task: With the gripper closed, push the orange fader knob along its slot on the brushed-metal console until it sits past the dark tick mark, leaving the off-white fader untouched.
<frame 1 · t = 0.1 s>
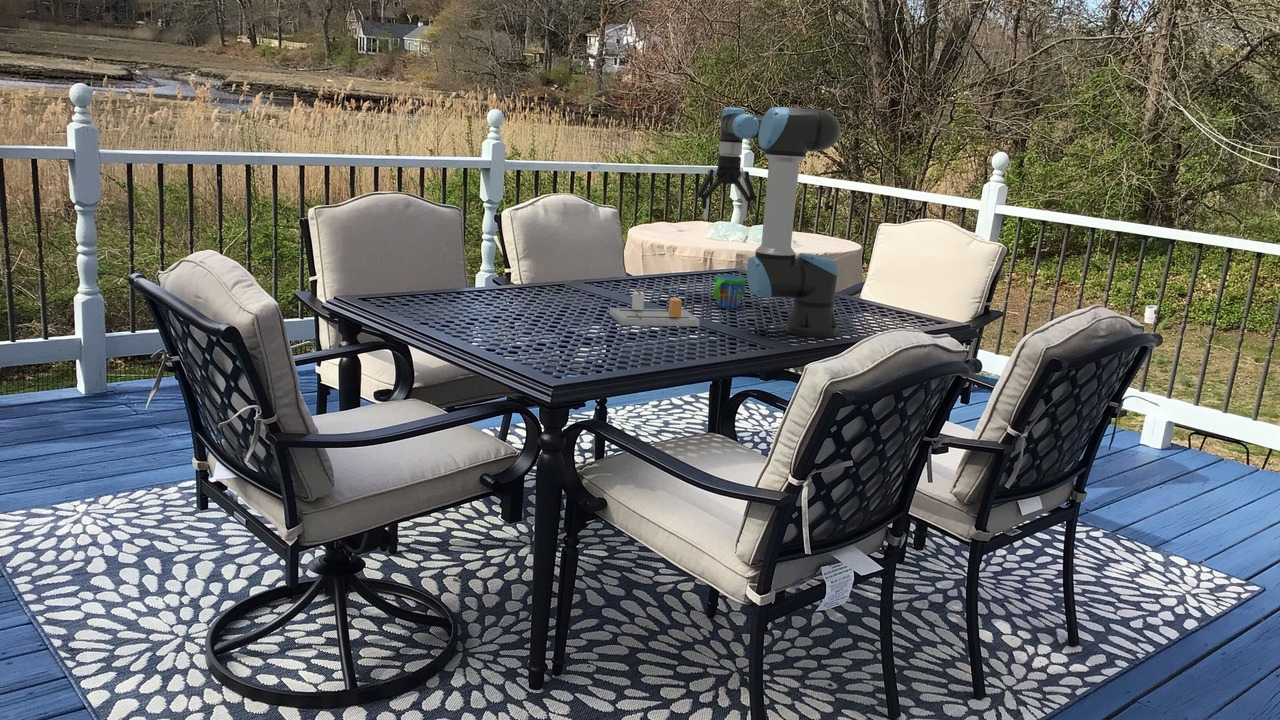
hand: (724, 219, 331), 28 cm above the table, fingers open, 13 cm apart
fader b: (638, 300, 300), point 5 cm above the table, slide at 4.0 cm
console: (653, 320, 298), on the table
snack cup: (727, 307, 328), on the table
fader a: (675, 307, 293), point 5 cm above the table, slide at -5.0 cm
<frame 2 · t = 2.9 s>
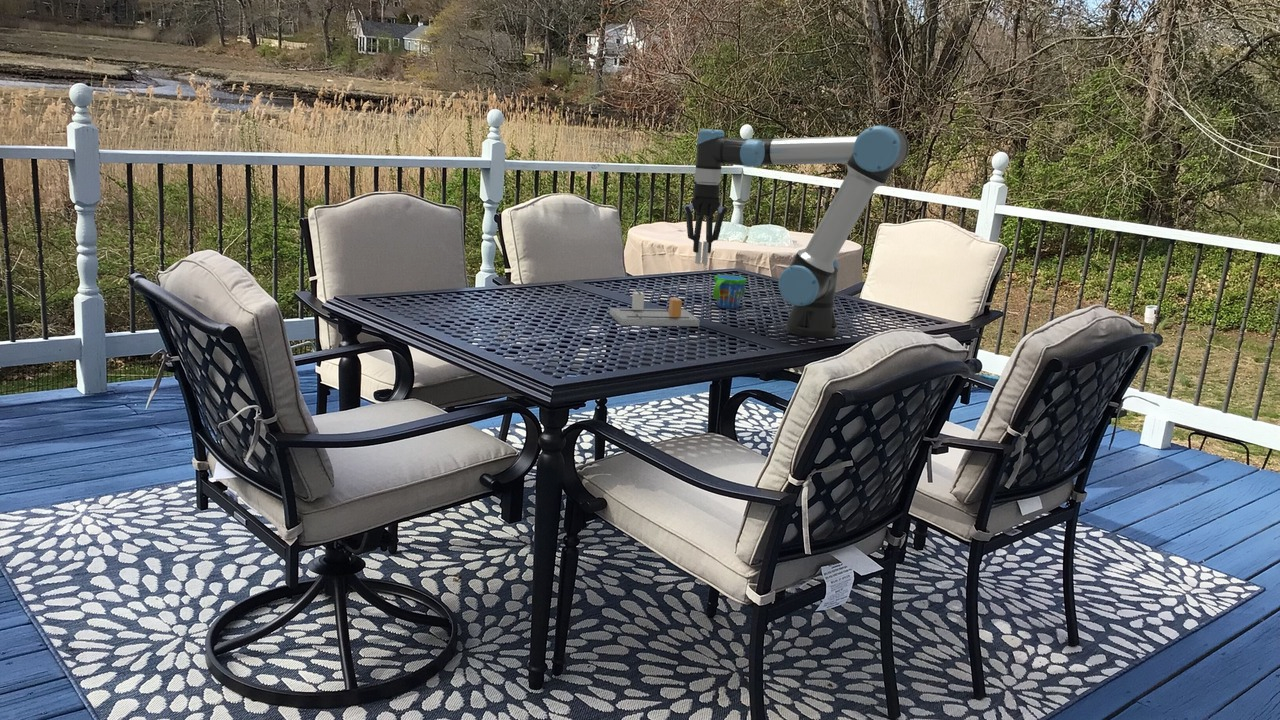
hand: (700, 263, 292), 18 cm above the table, fingers closed
nothing on the table moved.
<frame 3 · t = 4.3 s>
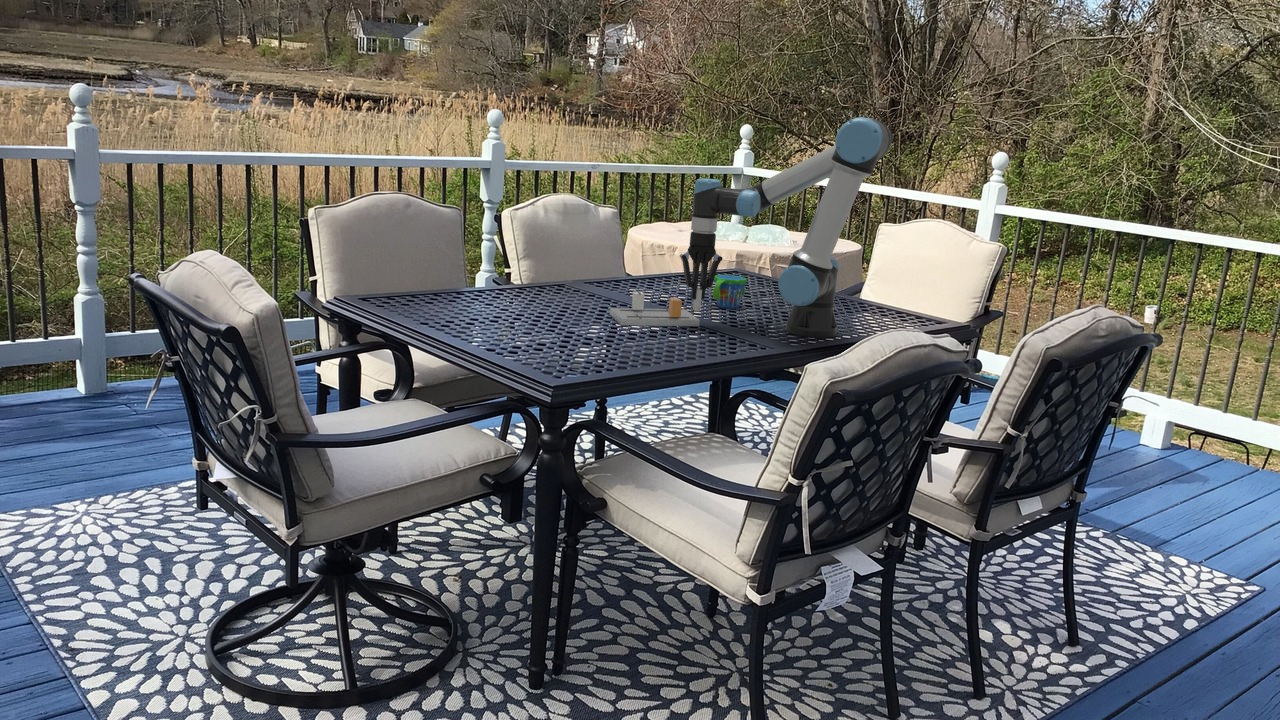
hand: (696, 310, 295), 4 cm above the table, fingers closed
nothing on the table moved.
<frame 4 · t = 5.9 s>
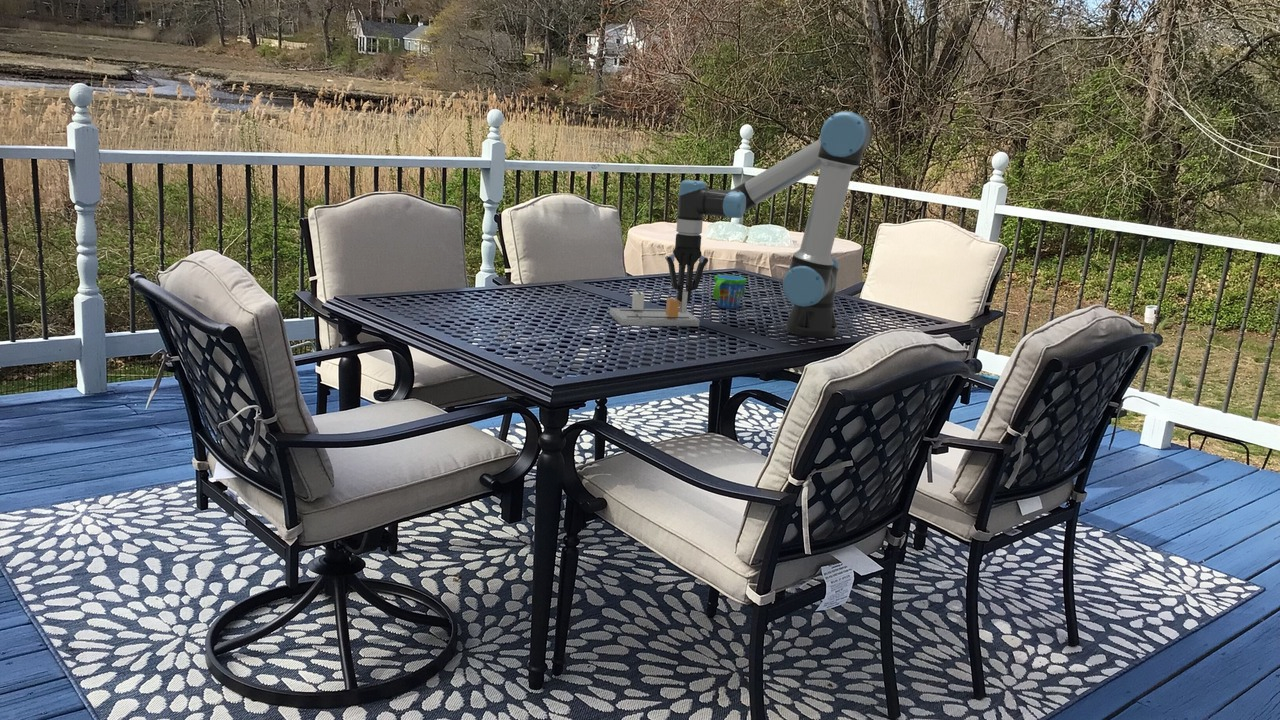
hand: (682, 312, 294), 4 cm above the table, fingers closed
fader a: (672, 307, 293), point 5 cm above the table, slide at -4.2 cm, touching gripper
everything else where it was.
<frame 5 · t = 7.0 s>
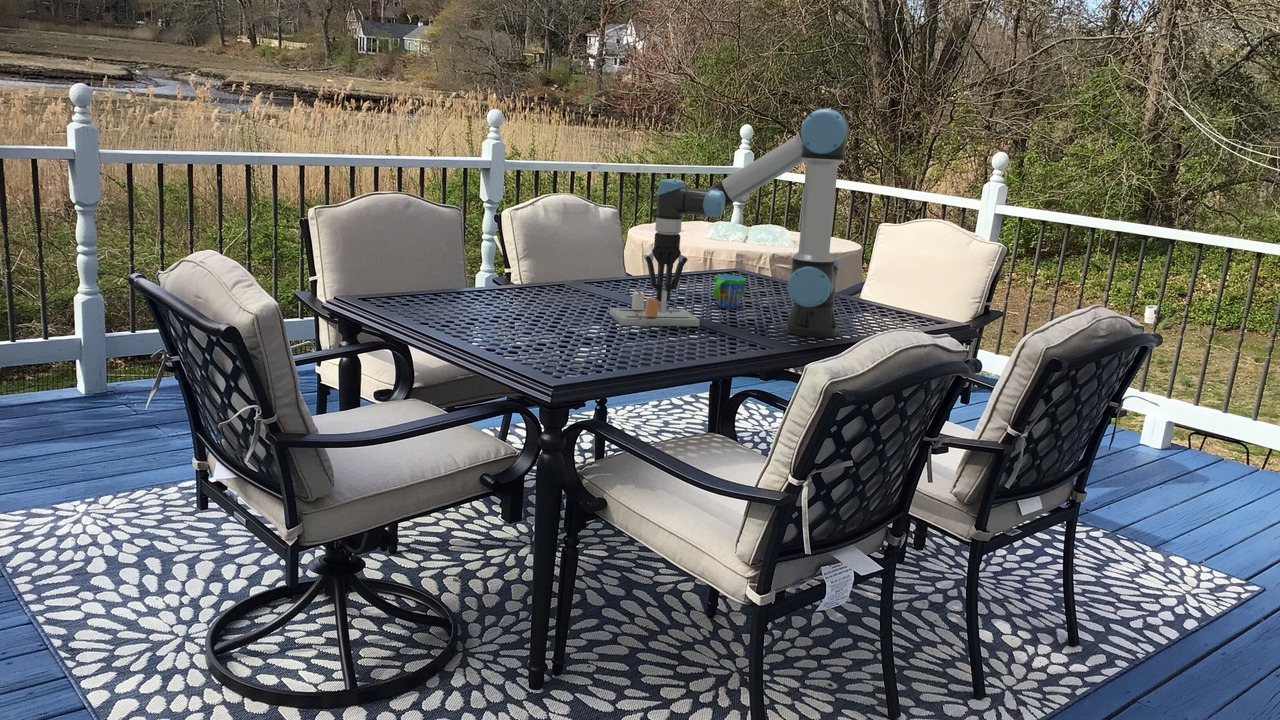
hand: (662, 311, 293), 4 cm above the table, fingers closed
fader a: (651, 306, 291), point 5 cm above the table, slide at 2.2 cm, touching gripper
everything else where it was.
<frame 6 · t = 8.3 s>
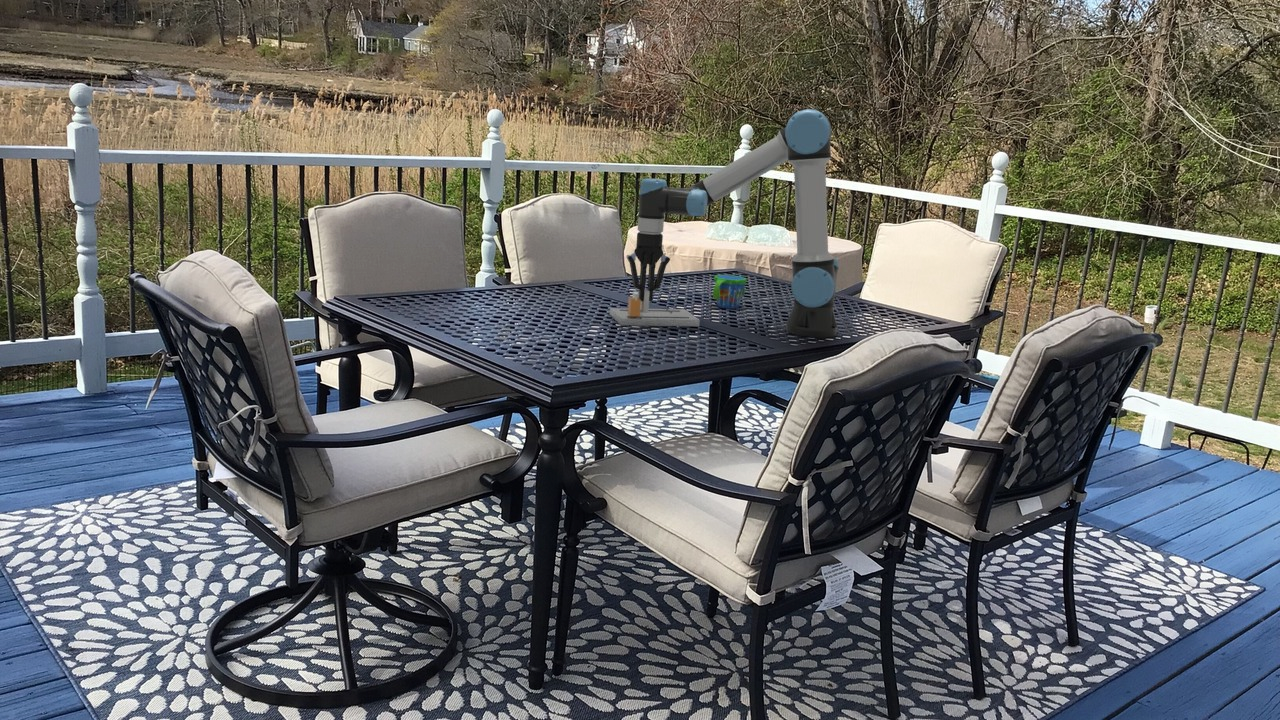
hand: (644, 311, 291), 4 cm above the table, fingers closed
fader a: (634, 306, 290), point 5 cm above the table, slide at 7.6 cm, touching gripper
everything else where it was.
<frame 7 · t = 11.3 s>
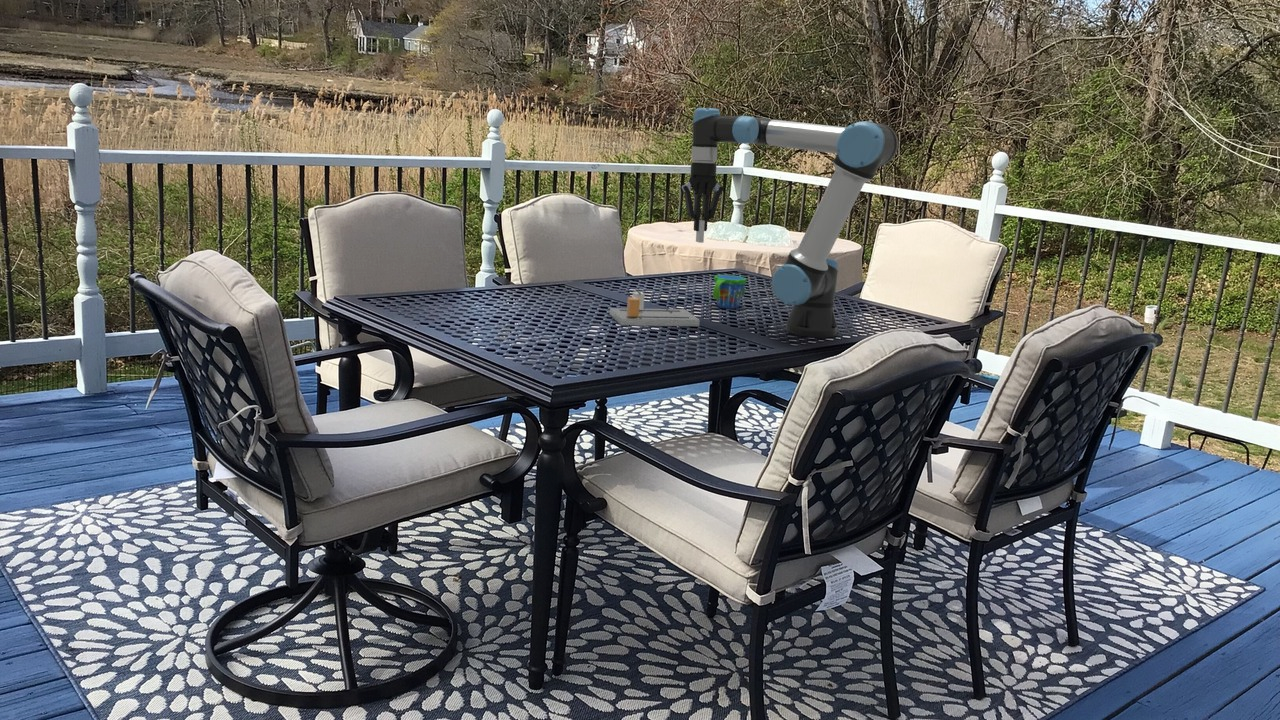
hand: (699, 242, 295), 24 cm above the table, fingers closed
fader a: (633, 306, 290), point 5 cm above the table, slide at 7.9 cm
everything else where it was.
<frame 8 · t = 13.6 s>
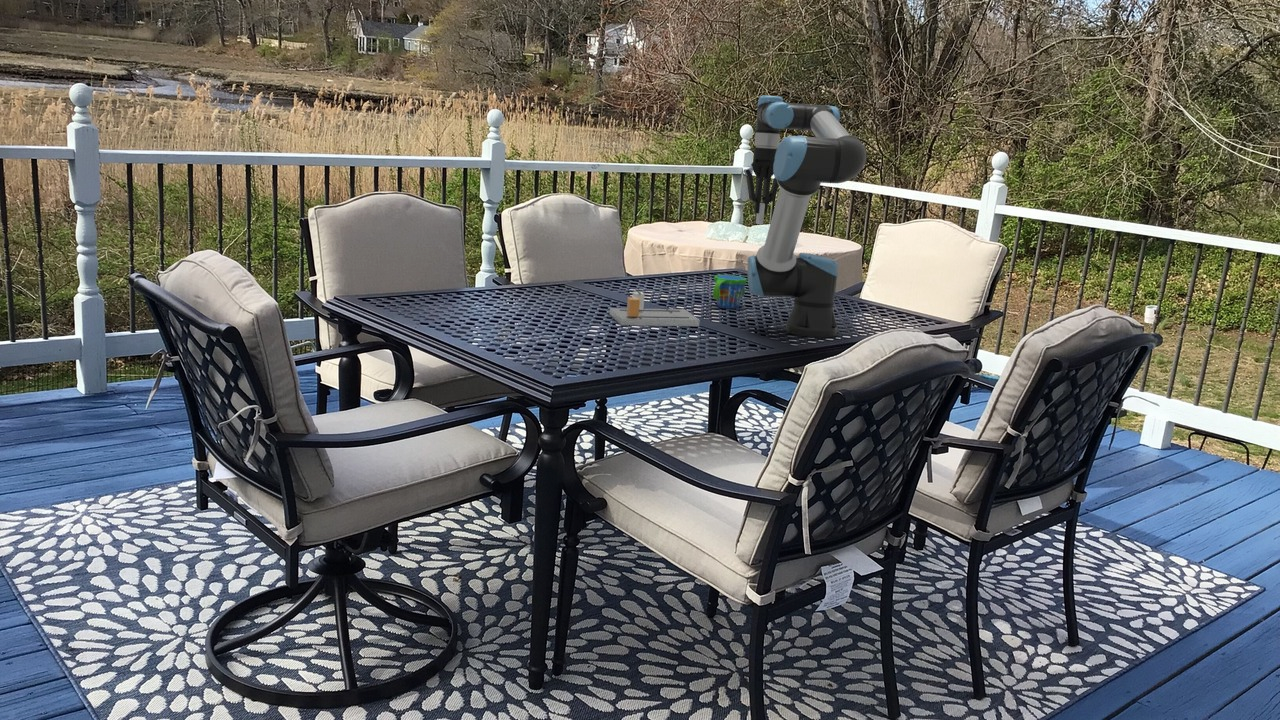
hand: (759, 223, 309), 29 cm above the table, fingers closed
nothing on the table moved.
at the end: fader a slide at 7.9 cm; fader b slide at 4.0 cm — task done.
